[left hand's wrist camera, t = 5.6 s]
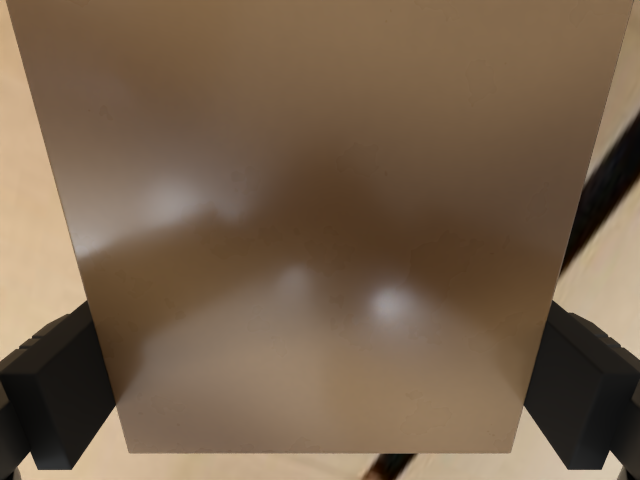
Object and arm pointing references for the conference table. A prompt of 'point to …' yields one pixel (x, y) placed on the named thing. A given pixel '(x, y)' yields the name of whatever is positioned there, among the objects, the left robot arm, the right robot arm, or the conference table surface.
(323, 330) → the cabinet
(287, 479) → the conference table surface
